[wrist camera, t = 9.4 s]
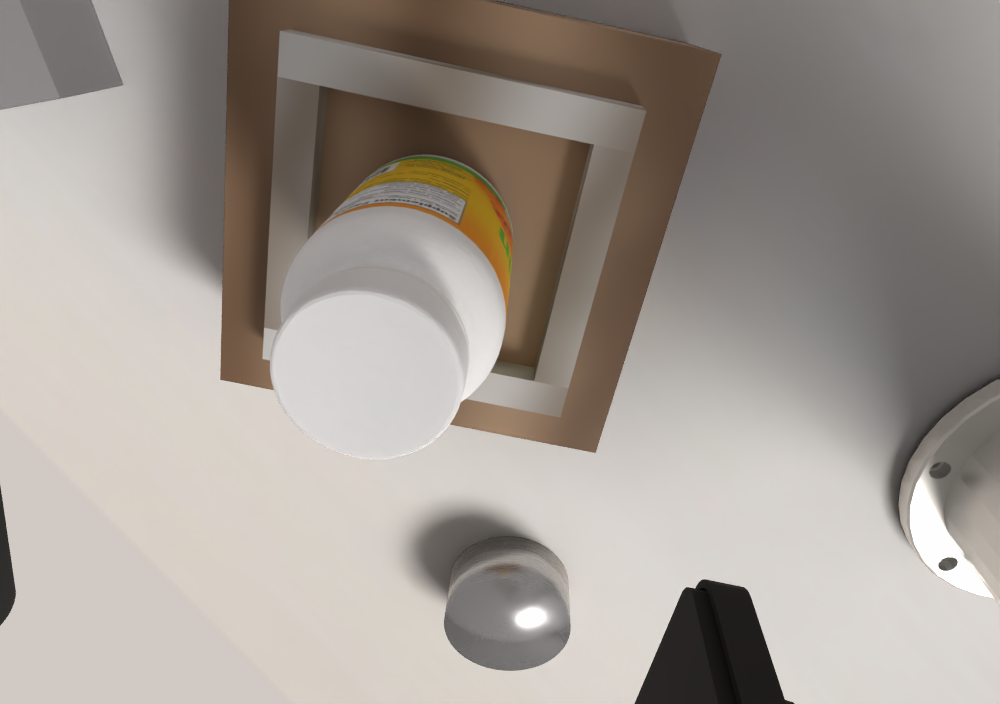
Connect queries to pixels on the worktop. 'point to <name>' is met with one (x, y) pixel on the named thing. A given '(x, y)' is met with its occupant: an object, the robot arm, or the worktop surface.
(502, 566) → the metal tin
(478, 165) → the walnut stand
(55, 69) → the grey rubber block
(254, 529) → the worktop surface
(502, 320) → the supplement bottle
